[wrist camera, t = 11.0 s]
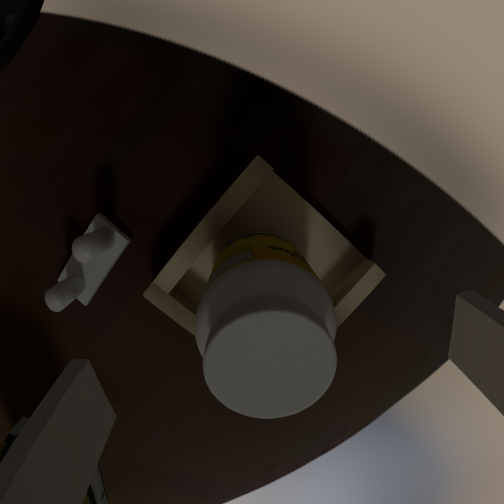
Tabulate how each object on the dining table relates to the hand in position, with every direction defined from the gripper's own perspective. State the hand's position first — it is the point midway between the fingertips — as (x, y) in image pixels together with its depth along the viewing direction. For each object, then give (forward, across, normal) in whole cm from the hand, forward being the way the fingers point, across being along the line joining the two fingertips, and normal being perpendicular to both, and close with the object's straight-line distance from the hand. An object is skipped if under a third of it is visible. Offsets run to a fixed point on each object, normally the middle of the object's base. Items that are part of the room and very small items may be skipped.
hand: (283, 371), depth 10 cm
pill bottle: (+12, 0, -1) cm, 12 cm away
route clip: (+12, -12, +2) cm, 17 cm away
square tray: (+12, 0, -1) cm, 12 cm away
